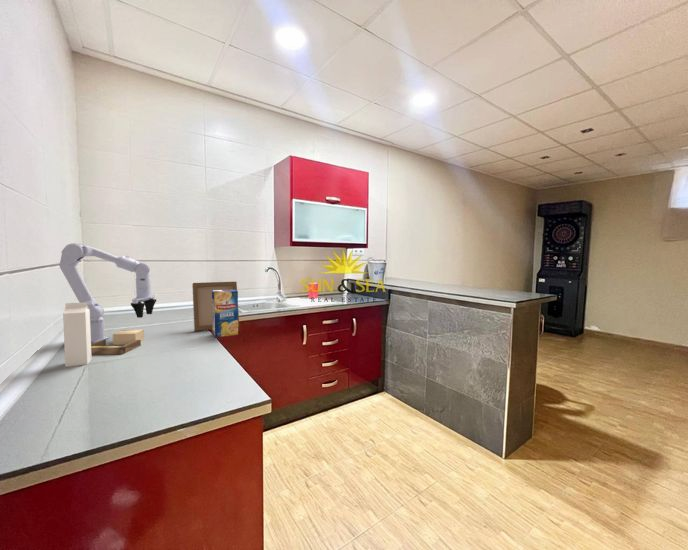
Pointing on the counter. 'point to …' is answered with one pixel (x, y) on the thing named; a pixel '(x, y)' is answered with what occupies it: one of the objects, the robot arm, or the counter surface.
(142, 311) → the robot arm
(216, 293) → the blue cardboard box
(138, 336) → the carton
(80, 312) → the milk
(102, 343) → the display stand
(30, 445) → the counter surface
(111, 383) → the counter surface
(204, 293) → the photo frame
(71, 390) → the counter surface
